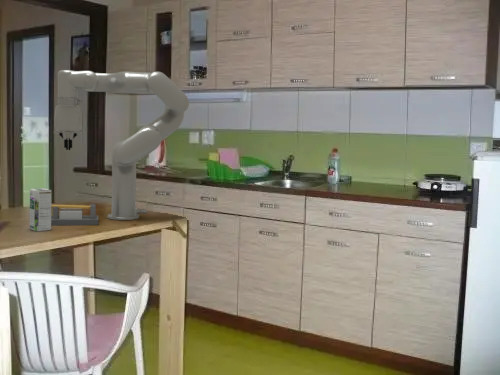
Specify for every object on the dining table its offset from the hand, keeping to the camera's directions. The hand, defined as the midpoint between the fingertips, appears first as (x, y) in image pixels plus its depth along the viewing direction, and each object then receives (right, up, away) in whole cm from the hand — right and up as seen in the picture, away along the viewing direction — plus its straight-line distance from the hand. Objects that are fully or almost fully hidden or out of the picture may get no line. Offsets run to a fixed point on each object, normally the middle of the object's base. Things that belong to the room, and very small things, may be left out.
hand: (68, 149), depth 210 cm
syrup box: (-3, -30, -20) cm, 36 cm away
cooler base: (+4, -28, -5) cm, 29 cm away
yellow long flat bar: (+4, -23, -6) cm, 24 cm away
